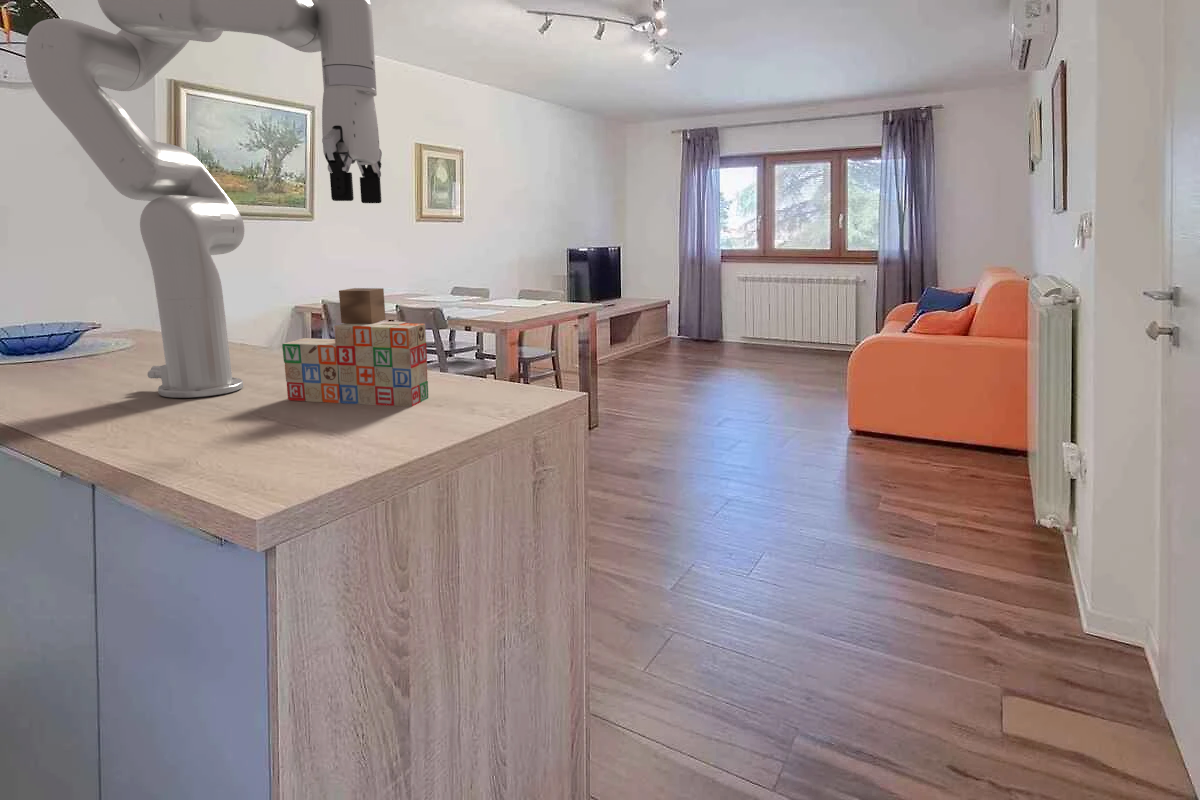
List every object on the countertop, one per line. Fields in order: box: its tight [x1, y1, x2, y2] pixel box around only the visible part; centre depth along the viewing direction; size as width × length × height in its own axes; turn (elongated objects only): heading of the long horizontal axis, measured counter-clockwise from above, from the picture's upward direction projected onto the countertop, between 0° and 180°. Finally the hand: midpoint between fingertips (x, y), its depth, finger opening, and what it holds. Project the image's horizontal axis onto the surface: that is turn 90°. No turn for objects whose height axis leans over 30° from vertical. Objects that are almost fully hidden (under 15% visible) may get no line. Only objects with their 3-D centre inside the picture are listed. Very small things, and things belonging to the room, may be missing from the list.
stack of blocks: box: [281, 320, 429, 407], centre depth 117 cm, size 21×6×12 cm, turn 79°
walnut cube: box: [338, 287, 386, 324], centre depth 118 cm, size 5×5×5 cm
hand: (357, 201), depth 115 cm, fingers open, 9 cm apart
